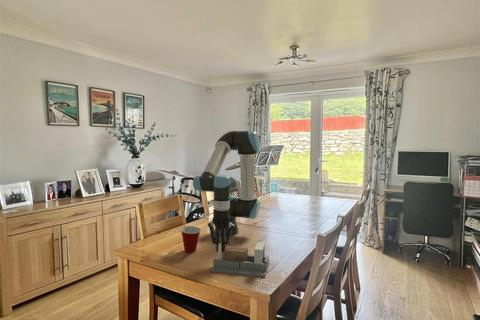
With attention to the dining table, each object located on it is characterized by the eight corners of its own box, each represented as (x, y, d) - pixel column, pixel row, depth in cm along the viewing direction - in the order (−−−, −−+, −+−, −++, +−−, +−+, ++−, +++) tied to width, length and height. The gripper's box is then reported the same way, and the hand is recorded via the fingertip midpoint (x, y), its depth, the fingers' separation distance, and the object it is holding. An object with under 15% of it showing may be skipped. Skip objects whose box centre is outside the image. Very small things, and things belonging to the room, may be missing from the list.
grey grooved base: (221, 257, 145) (221, 236, 144) (269, 262, 140) (269, 241, 139) (211, 271, 129) (212, 248, 128) (265, 277, 124) (265, 253, 123)
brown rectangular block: (227, 260, 138) (227, 246, 138) (247, 262, 136) (247, 248, 136) (224, 264, 134) (224, 249, 133) (245, 267, 131) (245, 252, 131)
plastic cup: (195, 256, 146) (195, 232, 145) (176, 253, 149) (176, 230, 148) (204, 248, 156) (204, 227, 155) (186, 246, 159) (186, 224, 159)
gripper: (205, 209, 133) (204, 259, 134) (233, 211, 130) (231, 263, 131) (210, 206, 140) (209, 254, 141) (236, 208, 137) (235, 256, 138)
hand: (220, 258), depth 136 cm, fingers closed
